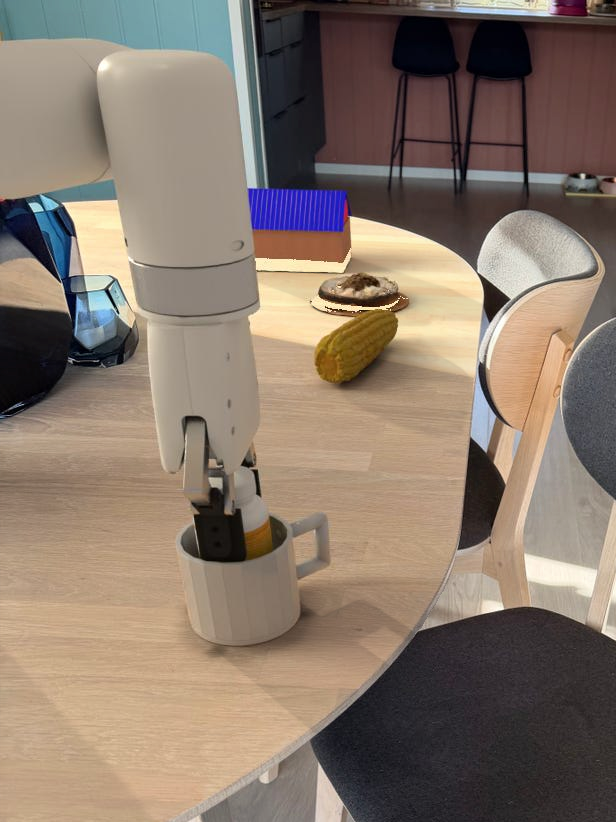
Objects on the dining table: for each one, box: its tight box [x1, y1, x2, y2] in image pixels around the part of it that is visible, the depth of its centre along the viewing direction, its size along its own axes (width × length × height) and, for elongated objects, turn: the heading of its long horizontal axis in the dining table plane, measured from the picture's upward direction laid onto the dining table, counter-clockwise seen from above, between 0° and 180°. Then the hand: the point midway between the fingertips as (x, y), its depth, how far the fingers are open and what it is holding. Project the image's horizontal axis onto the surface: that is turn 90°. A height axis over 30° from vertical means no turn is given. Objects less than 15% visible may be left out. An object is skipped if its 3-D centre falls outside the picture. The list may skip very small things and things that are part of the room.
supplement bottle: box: [192, 465, 273, 563], centre depth 68 cm, size 5×5×10 cm
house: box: [247, 187, 353, 263], centre depth 156 cm, size 12×20×12 cm, turn 89°
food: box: [313, 309, 399, 384], centre depth 118 cm, size 21×6×6 cm, turn 166°
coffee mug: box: [174, 511, 332, 647], centre depth 72 cm, size 12×8×7 cm
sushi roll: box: [309, 271, 410, 317], centre depth 141 cm, size 15×15×4 cm
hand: (233, 536), depth 68 cm, fingers closed on supplement bottle, 5 cm apart
